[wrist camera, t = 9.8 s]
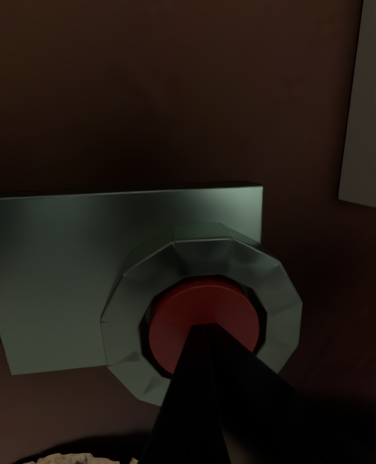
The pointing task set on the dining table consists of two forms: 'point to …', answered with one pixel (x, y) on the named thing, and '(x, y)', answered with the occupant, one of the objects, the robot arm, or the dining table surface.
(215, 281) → the red button
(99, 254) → the button box
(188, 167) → the dining table surface
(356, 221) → the dining table surface
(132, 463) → the sandwich
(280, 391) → the robot arm
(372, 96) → the panel
